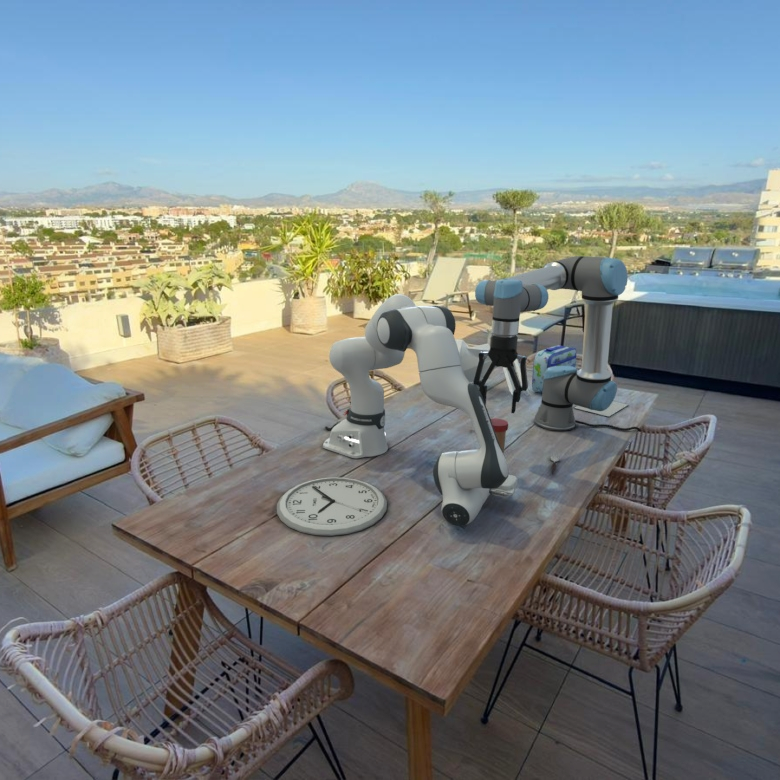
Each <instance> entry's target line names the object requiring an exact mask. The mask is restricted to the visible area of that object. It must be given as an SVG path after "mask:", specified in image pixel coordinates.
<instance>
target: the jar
mask: <svg viewBox="0 0 780 780" xmlns="http://www.w3.org/2000/svg"><path fill="white" fill-rule="evenodd" d="M495 433H496V436H497V439H498V442H499V444H500V447H501V449H502V451H503V453H504V454H505V447H506V446H505V443H506V437H507V436H506V435H507V431H504V432H495Z"/></svg>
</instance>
